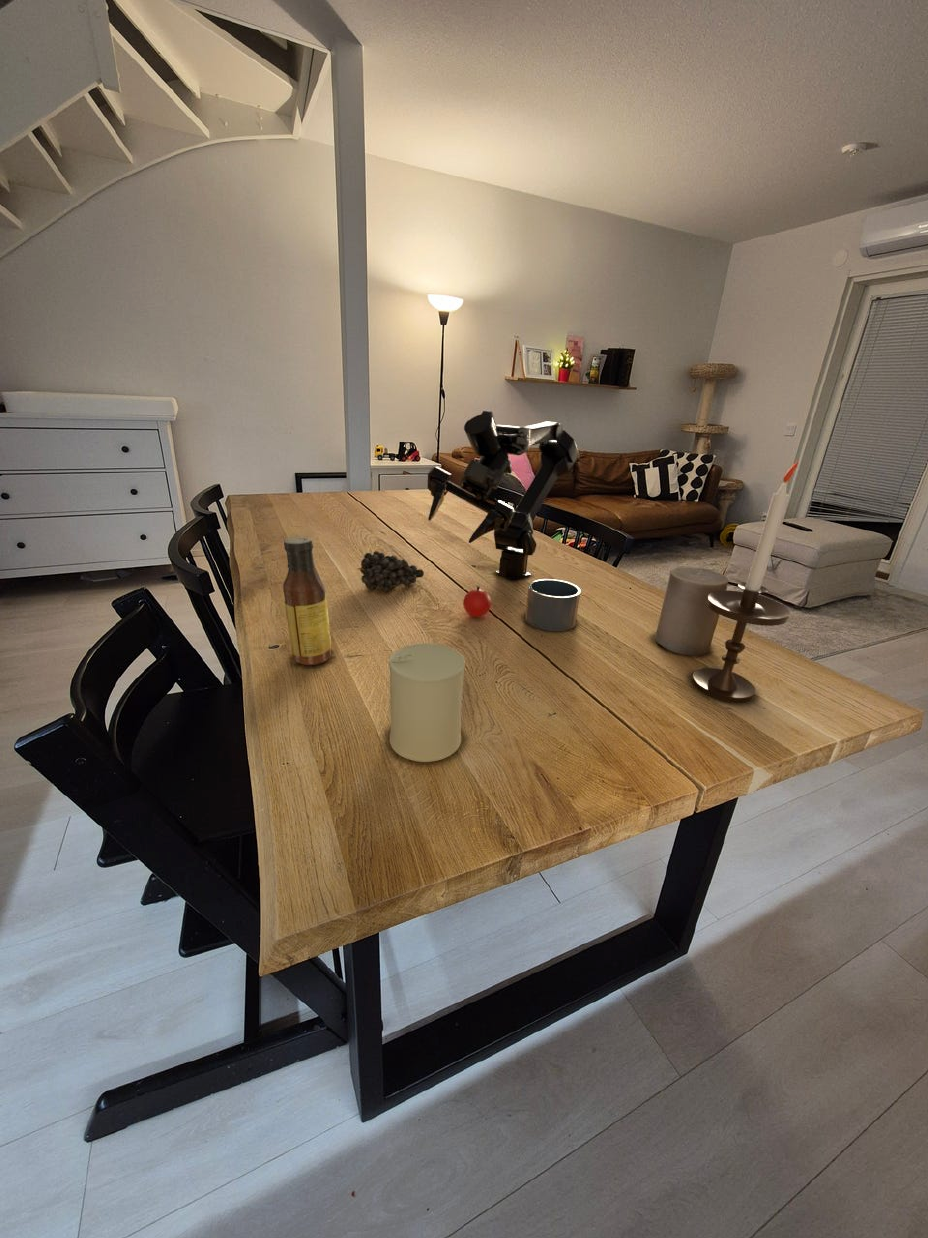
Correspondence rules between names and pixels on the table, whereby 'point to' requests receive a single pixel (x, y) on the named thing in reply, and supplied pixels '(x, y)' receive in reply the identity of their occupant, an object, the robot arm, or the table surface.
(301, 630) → the sauce bottle
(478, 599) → the apple
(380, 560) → the fruit
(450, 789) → the table surface
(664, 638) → the pillar candle
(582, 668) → the table surface
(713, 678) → the candlestick
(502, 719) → the table surface
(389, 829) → the table surface
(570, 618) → the cup
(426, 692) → the can
